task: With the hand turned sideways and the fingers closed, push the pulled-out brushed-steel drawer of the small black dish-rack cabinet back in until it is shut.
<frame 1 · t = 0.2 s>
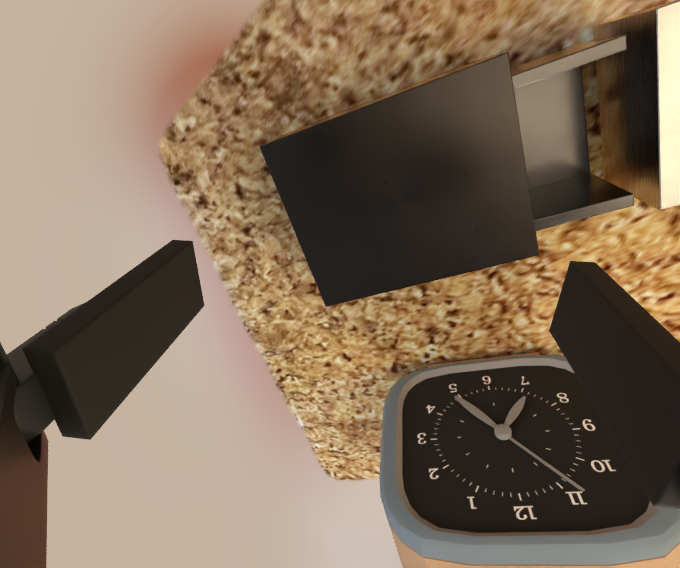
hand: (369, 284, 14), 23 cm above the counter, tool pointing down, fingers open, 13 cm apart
rack cabinet: (401, 172, 35), on the counter
alarm clock: (483, 384, 44), on the counter
drawer: (561, 134, 27), point 5 cm above the counter, slide at 7.5 cm
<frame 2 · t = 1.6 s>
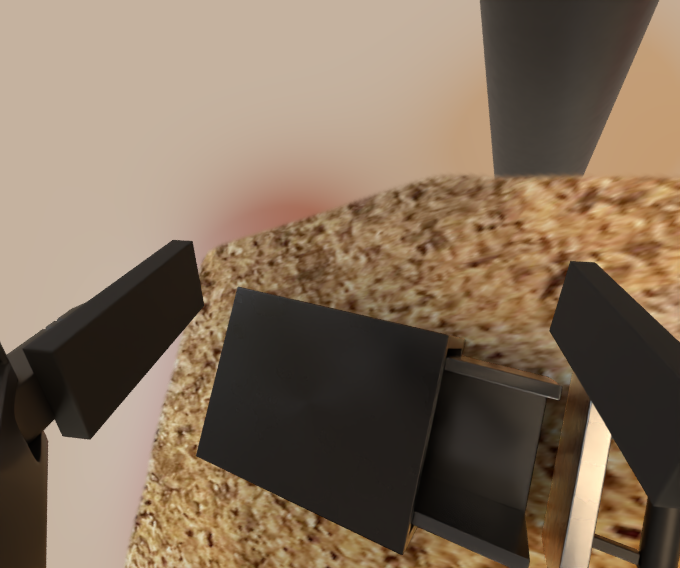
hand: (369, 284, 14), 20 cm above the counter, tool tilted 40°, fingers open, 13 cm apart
rack cabinet: (359, 388, 34), on the counter
drawer: (495, 446, 25), point 5 cm above the counter, slide at 7.5 cm
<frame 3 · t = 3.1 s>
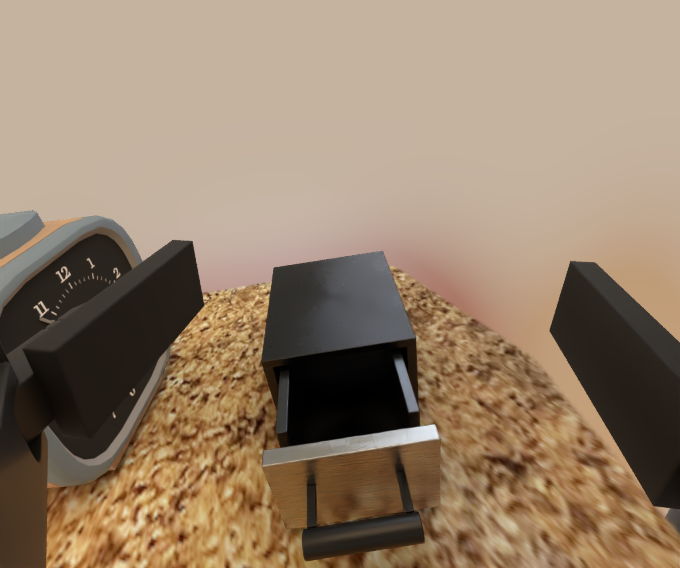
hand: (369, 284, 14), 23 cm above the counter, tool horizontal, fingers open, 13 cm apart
rack cabinet: (344, 368, 43), on the counter
alarm clock: (109, 422, 41), on the counter
drawer: (350, 425, 31), point 5 cm above the counter, slide at 7.5 cm
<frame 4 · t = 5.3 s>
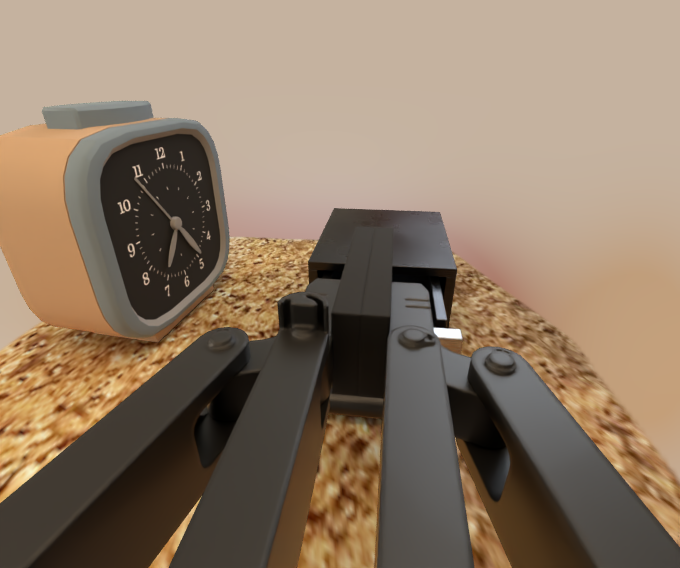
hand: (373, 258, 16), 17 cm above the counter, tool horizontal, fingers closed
rack cabinet: (379, 312, 45), on the counter
alarm clock: (160, 310, 46), on the counter
drawer: (376, 336, 32), point 5 cm above the counter, slide at 7.5 cm
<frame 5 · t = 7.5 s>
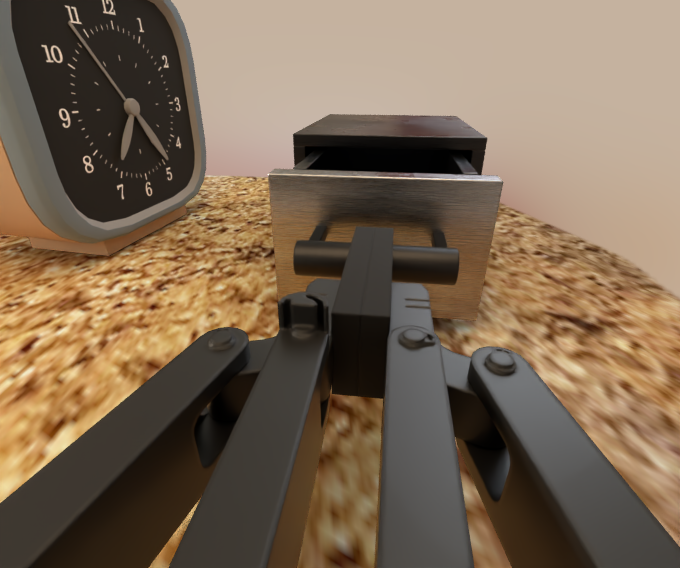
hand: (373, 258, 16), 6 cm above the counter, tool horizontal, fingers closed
rack cabinet: (383, 233, 37), on the counter
alarm clock: (118, 230, 38), on the counter
drawer: (381, 220, 25), point 5 cm above the counter, slide at 6.8 cm, touching gripper
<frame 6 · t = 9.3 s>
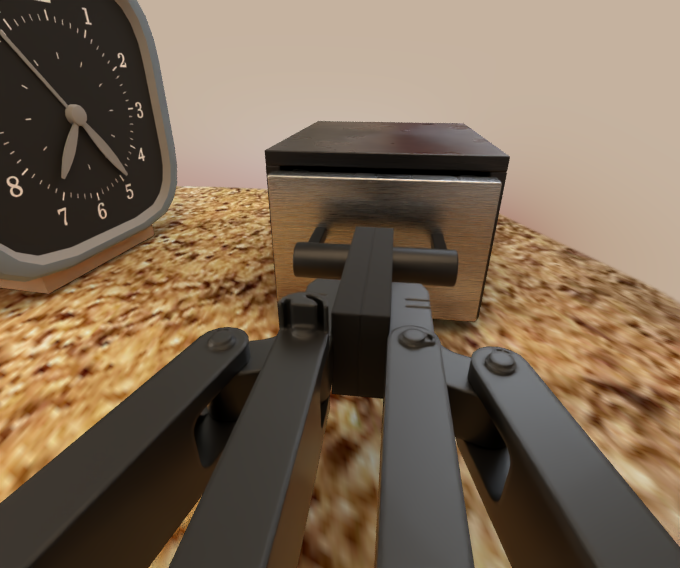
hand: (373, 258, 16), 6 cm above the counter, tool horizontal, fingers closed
rack cabinet: (380, 261, 32), on the counter
alarm clock: (71, 257, 32), on the counter
drawer: (380, 221, 25), point 5 cm above the counter, slide at 0.6 cm, touching gripper
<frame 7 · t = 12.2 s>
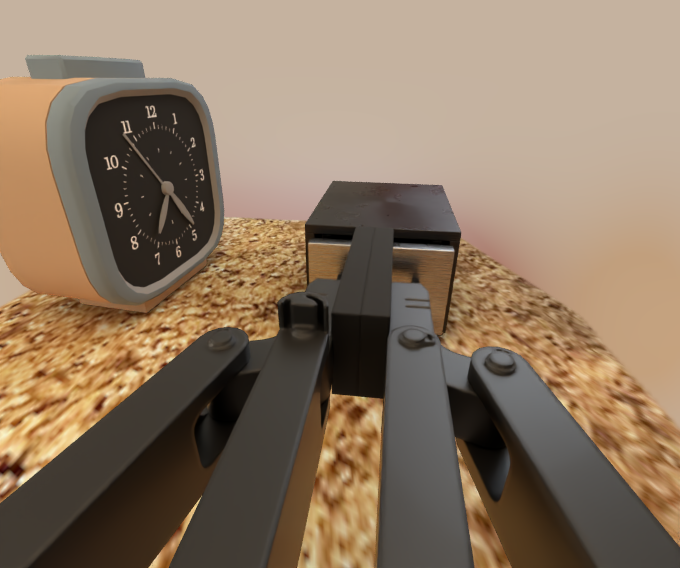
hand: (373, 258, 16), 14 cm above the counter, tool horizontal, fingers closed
rack cabinet: (379, 287, 43), on the counter
alarm clock: (150, 283, 44), on the counter
drawer: (379, 265, 37), point 5 cm above the counter, slide at 0.6 cm
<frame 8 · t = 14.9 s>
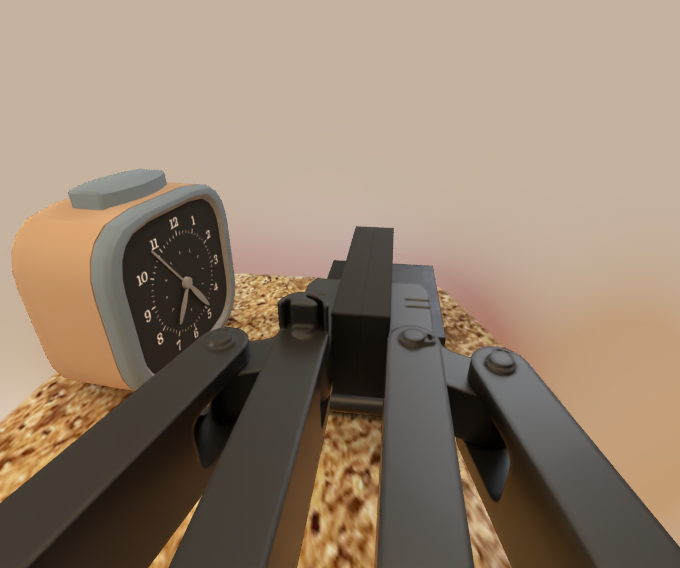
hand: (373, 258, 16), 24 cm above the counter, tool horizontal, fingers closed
rack cabinet: (376, 361, 48), on the counter
alarm clock: (170, 357, 49), on the counter
drawer: (375, 352, 42), point 5 cm above the counter, slide at 0.6 cm
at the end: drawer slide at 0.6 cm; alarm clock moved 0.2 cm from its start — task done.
